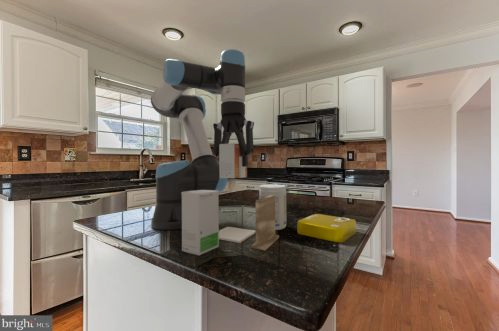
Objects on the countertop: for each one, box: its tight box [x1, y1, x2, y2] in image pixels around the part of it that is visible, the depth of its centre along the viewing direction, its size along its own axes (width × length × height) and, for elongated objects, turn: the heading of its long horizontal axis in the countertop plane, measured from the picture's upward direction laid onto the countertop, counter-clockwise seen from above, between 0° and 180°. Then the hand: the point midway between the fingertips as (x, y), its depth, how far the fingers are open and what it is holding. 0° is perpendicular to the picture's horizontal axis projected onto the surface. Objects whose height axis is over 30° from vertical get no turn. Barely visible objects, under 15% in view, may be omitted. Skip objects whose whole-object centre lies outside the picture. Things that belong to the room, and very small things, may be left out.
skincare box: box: [181, 190, 220, 256], centre depth 64 cm, size 8×7×16 cm
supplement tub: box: [258, 183, 287, 231], centre depth 85 cm, size 10×10×15 cm
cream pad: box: [219, 226, 256, 244], centre depth 76 cm, size 11×11×1 cm
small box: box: [218, 142, 248, 179], centre depth 76 cm, size 8×6×10 cm
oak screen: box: [250, 195, 280, 251], centre depth 69 cm, size 4×11×13 cm, turn 154°
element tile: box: [296, 213, 357, 243], centre depth 79 cm, size 15×15×5 cm
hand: (233, 176), depth 76 cm, fingers closed on small box, 6 cm apart
